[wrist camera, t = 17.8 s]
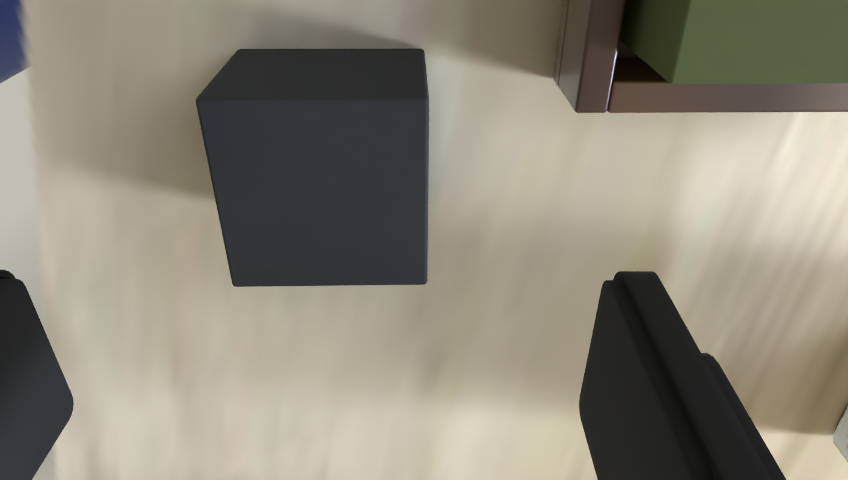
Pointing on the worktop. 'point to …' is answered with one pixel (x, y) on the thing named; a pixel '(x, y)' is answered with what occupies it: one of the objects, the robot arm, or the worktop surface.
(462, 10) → the worktop surface
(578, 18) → the brown divided tray
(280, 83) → the dark grey block
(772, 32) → the olive green block
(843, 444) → the white packaging box
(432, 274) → the worktop surface
